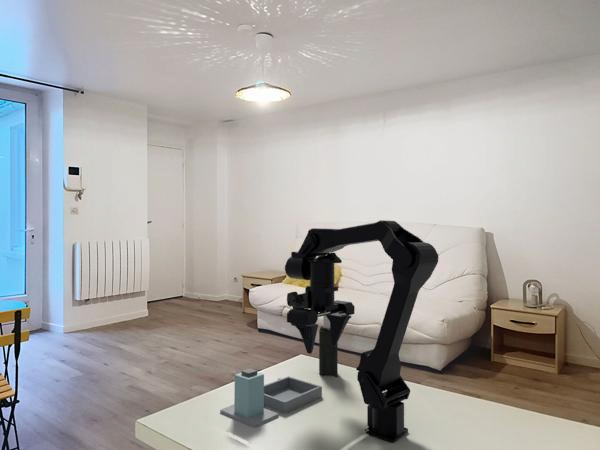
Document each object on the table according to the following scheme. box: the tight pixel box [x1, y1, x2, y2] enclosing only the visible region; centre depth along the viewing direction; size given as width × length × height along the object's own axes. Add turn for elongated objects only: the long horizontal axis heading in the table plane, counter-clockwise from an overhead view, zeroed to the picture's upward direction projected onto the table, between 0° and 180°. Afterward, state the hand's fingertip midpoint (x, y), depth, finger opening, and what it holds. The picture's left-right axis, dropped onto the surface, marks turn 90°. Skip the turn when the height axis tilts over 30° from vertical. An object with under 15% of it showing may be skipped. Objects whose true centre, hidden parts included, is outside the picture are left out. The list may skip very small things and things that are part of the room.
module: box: [233, 368, 265, 418], centre depth 93 cm, size 4×4×9 cm
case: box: [264, 376, 323, 414], centre depth 102 cm, size 12×13×3 cm
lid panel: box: [219, 404, 279, 429], centre depth 92 cm, size 11×7×1 cm, turn 49°
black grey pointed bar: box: [318, 315, 339, 378], centre depth 120 cm, size 5×5×25 cm
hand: (322, 349), depth 99 cm, fingers open, 9 cm apart
